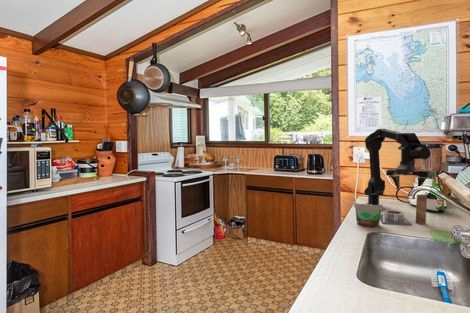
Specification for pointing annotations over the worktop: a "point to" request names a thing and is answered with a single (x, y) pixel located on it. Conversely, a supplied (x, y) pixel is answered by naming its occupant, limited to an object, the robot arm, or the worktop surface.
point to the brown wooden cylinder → (421, 209)
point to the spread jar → (431, 202)
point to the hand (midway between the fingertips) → (408, 190)
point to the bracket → (394, 217)
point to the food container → (368, 214)
